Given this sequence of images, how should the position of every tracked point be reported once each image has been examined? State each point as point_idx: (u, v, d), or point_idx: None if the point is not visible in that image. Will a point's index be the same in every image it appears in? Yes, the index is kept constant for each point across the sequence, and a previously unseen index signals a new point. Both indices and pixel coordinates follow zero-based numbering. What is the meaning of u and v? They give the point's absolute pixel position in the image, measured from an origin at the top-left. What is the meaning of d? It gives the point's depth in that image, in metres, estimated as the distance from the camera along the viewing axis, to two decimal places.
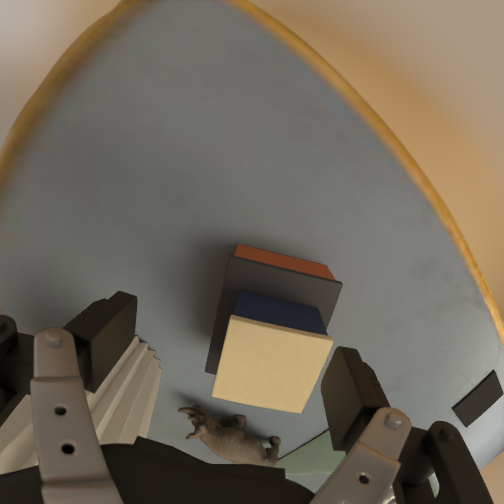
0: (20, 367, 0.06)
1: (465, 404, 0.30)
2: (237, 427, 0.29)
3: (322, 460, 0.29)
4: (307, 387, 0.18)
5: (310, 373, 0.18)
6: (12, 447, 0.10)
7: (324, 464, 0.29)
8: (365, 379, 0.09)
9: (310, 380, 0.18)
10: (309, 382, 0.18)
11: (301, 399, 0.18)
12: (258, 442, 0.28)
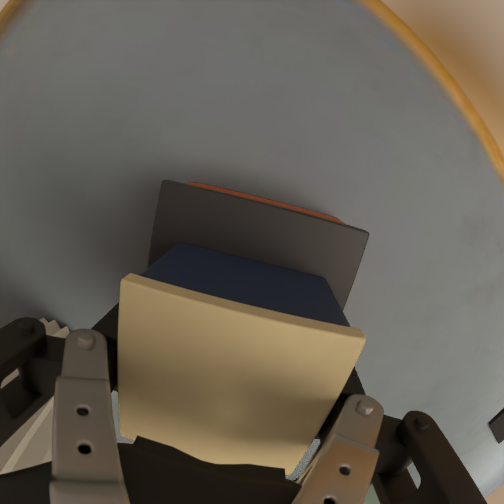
0: (46, 372, 0.06)
1: (503, 417, 0.20)
2: None
3: None
4: (304, 435, 0.08)
5: (310, 410, 0.08)
6: None
7: None
8: None
9: (310, 423, 0.08)
10: (308, 426, 0.08)
11: (291, 455, 0.08)
12: None
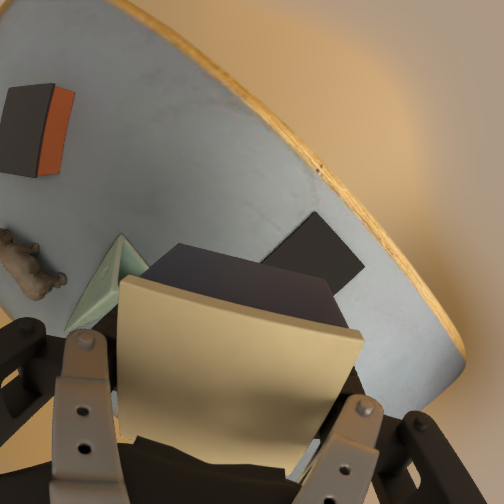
0: (46, 372, 0.06)
1: (280, 262, 0.31)
2: None
3: (88, 298, 0.30)
4: (303, 436, 0.08)
5: (309, 411, 0.08)
6: None
7: (88, 302, 0.30)
8: None
9: (309, 424, 0.08)
10: (306, 427, 0.08)
11: (290, 455, 0.08)
12: (33, 259, 0.29)
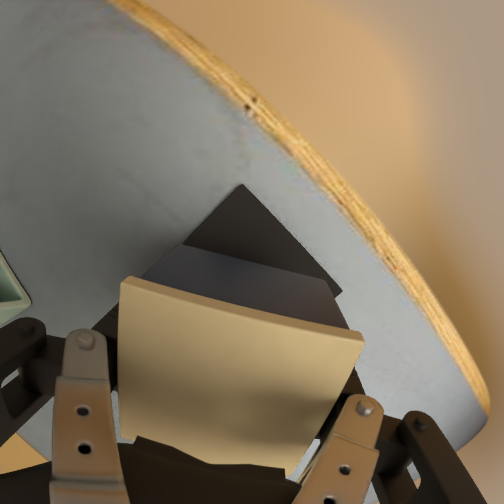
0: (46, 372, 0.06)
1: None
2: None
3: None
4: (303, 437, 0.08)
5: (309, 412, 0.08)
6: None
7: None
8: None
9: (309, 425, 0.08)
10: (307, 428, 0.08)
11: (290, 456, 0.08)
12: None
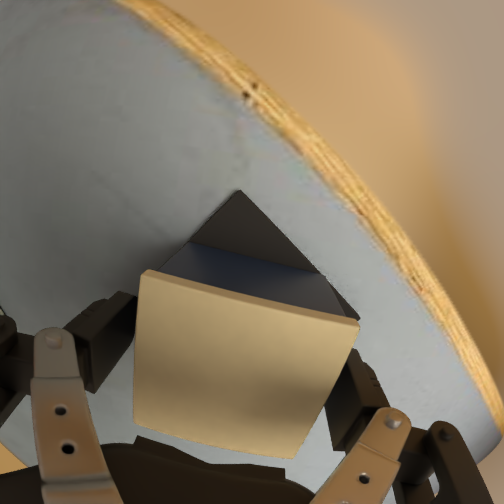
0: (20, 367, 0.06)
1: None
2: None
3: None
4: (305, 418, 0.09)
5: (311, 393, 0.09)
6: None
7: None
8: (365, 379, 0.09)
9: (311, 406, 0.09)
10: (309, 410, 0.09)
11: (293, 438, 0.09)
12: None
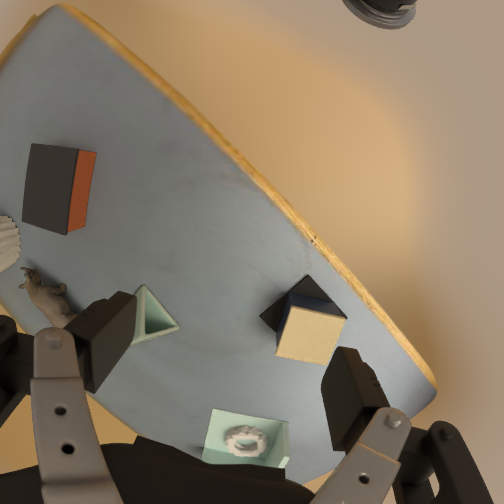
0: (20, 367, 0.06)
1: (277, 314, 0.37)
2: (53, 287, 0.36)
3: None
4: (331, 347, 0.32)
5: (332, 338, 0.32)
6: None
7: None
8: (365, 379, 0.09)
9: (332, 343, 0.32)
10: (332, 344, 0.32)
11: (327, 355, 0.33)
12: (63, 301, 0.35)
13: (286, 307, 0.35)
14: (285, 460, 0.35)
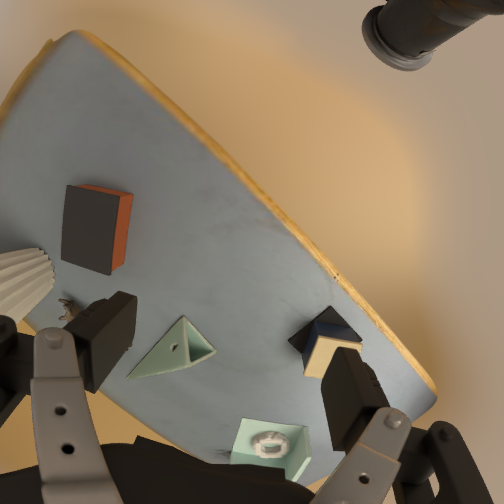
0: (20, 367, 0.06)
1: (303, 339, 0.42)
2: None
3: (157, 361, 0.41)
4: None
5: None
6: None
7: (157, 365, 0.41)
8: (365, 379, 0.09)
9: None
10: None
11: None
12: None
13: (312, 334, 0.40)
14: (307, 460, 0.40)
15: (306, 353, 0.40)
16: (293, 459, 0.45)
